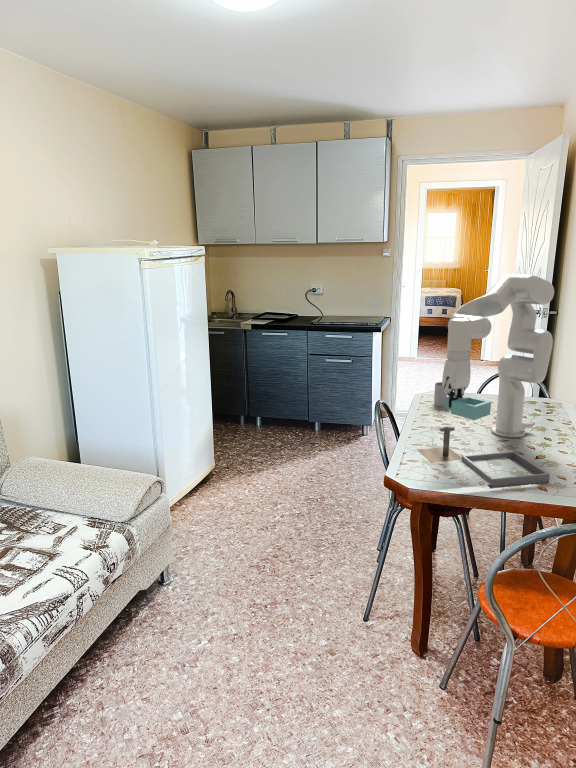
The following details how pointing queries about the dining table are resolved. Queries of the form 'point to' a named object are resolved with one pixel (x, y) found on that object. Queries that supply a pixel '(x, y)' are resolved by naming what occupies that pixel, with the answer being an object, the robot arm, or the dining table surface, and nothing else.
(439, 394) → the cup
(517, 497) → the dining table surface
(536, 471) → the tray
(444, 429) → the stake board
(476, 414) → the teal hollow frame
